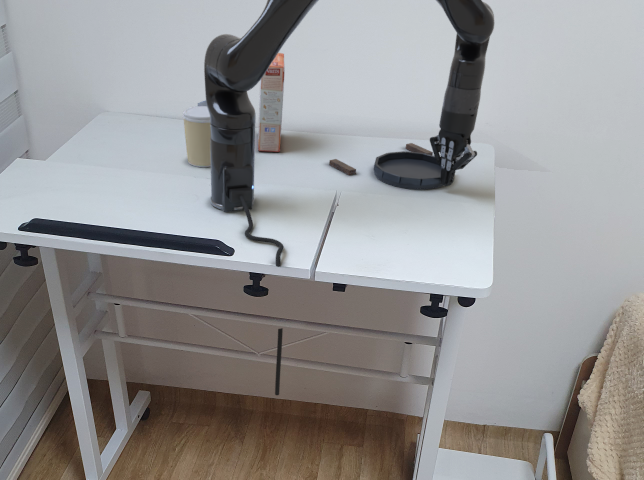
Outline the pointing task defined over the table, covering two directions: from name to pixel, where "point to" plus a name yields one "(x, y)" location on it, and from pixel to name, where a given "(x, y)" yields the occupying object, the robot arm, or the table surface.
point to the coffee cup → (197, 135)
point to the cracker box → (271, 106)
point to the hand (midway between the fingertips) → (445, 184)
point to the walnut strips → (351, 170)
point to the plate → (408, 170)
